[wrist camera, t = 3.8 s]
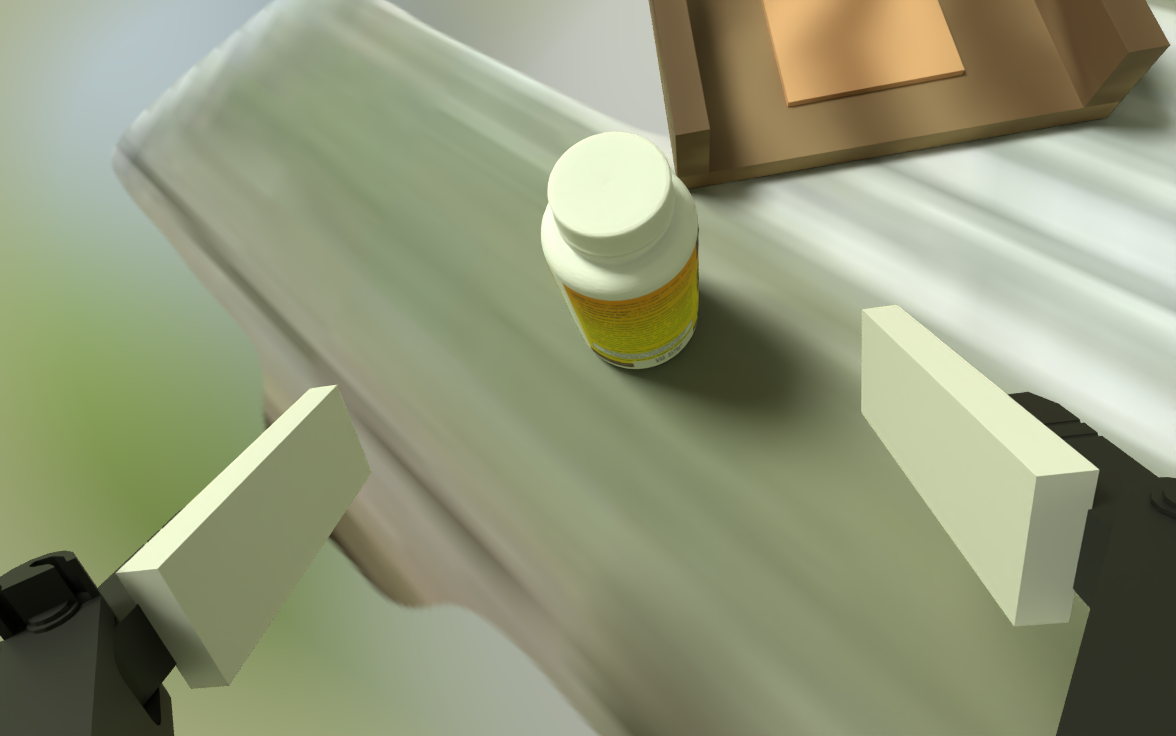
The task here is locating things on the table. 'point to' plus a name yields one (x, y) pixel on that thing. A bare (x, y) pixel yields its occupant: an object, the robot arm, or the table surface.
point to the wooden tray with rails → (883, 75)
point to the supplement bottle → (624, 248)
